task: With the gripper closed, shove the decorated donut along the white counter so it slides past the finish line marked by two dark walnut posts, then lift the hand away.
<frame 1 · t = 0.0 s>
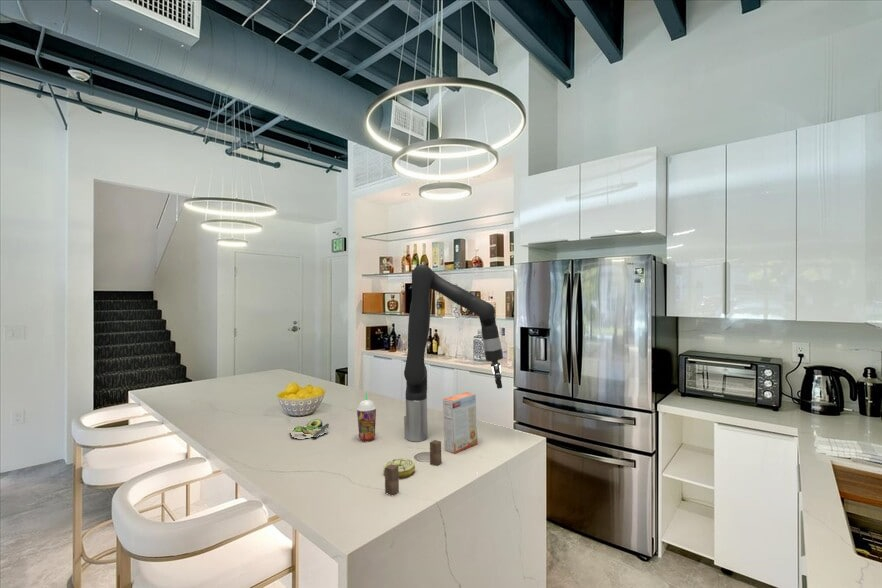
hand: (499, 385, 172), 22 cm above the kitchen island, tool pointing down, fingers open, 8 cm apart
decorated donut: (399, 473, 140), on the kitchen island
finish posts: (415, 477, 136), on the kitchen island
salad plate: (309, 433, 185), on the kitchen island
smoothie: (367, 440, 174), on the kitchen island
cracker box: (461, 447, 162), on the kitchen island
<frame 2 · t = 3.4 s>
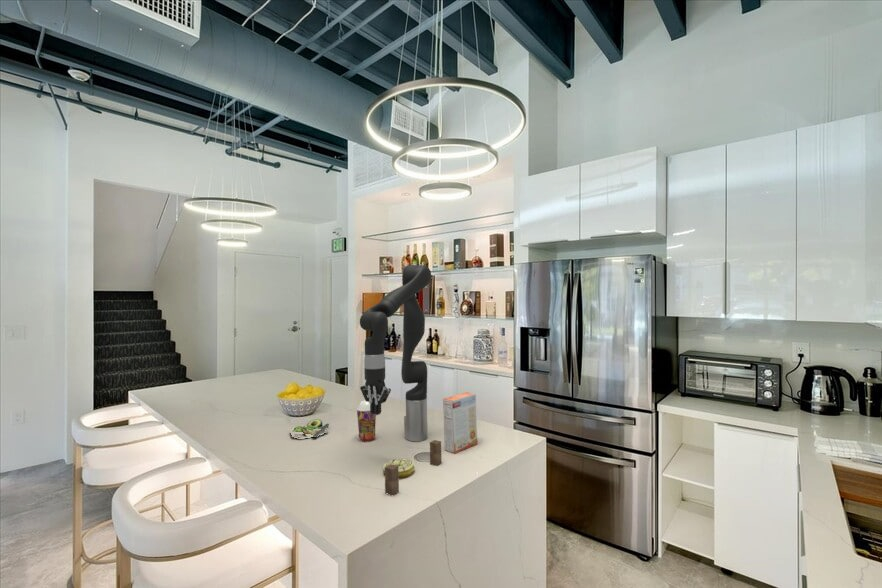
hand: (375, 413, 146), 19 cm above the kitchen island, tool pointing down, fingers closed
nothing on the kitchen island moved.
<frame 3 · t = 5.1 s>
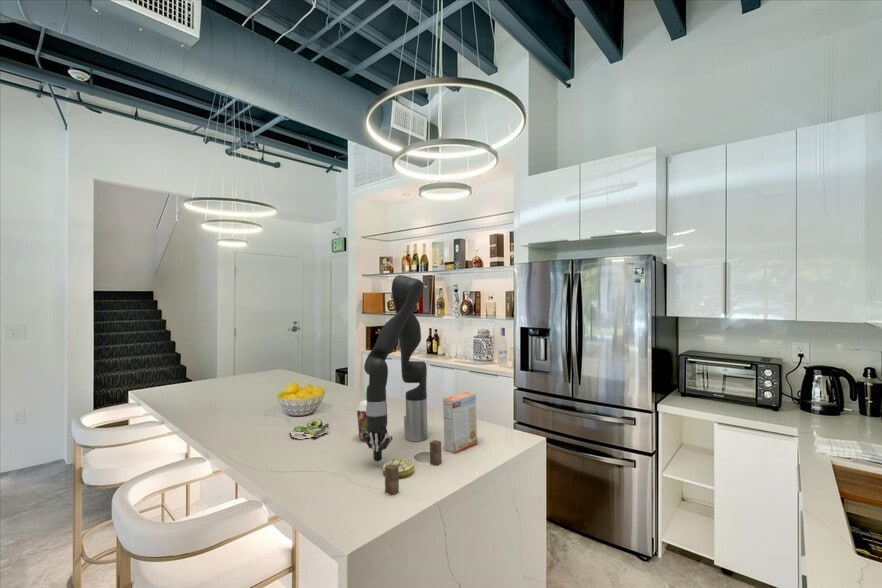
hand: (377, 460, 145), 2 cm above the kitchen island, tool pointing down, fingers closed
nothing on the kitchen island moved.
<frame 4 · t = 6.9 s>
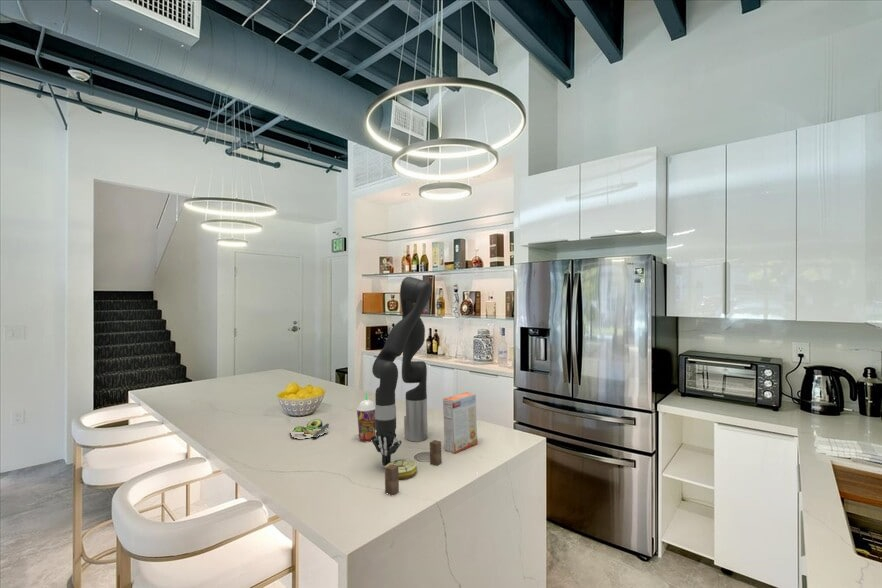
hand: (386, 464, 143), 2 cm above the kitchen island, tool pointing down, fingers closed
decorated donut: (401, 474, 139), on the kitchen island, touching gripper
everything else where it was.
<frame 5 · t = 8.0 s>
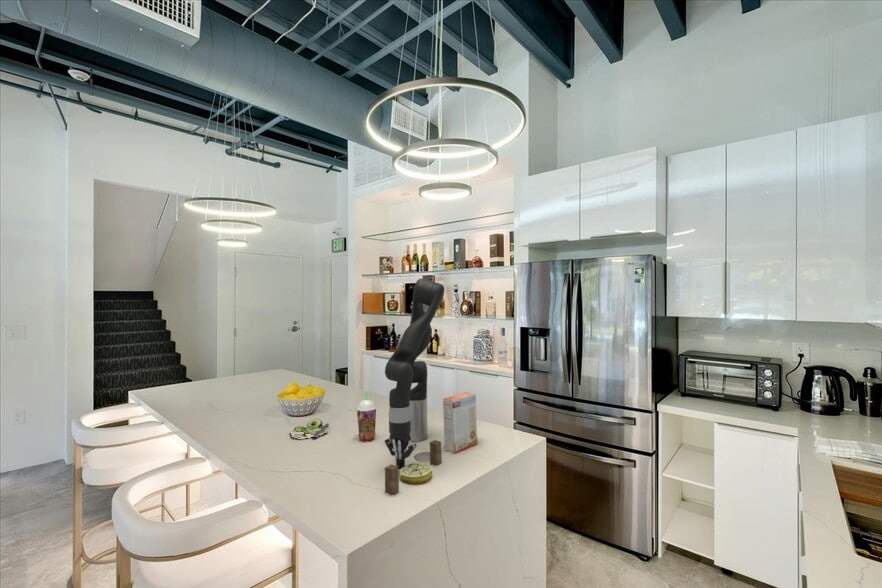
hand: (400, 468, 139), 2 cm above the kitchen island, tool pointing down, fingers closed
decorated donut: (416, 479, 135), on the kitchen island, touching gripper
everything else where it was.
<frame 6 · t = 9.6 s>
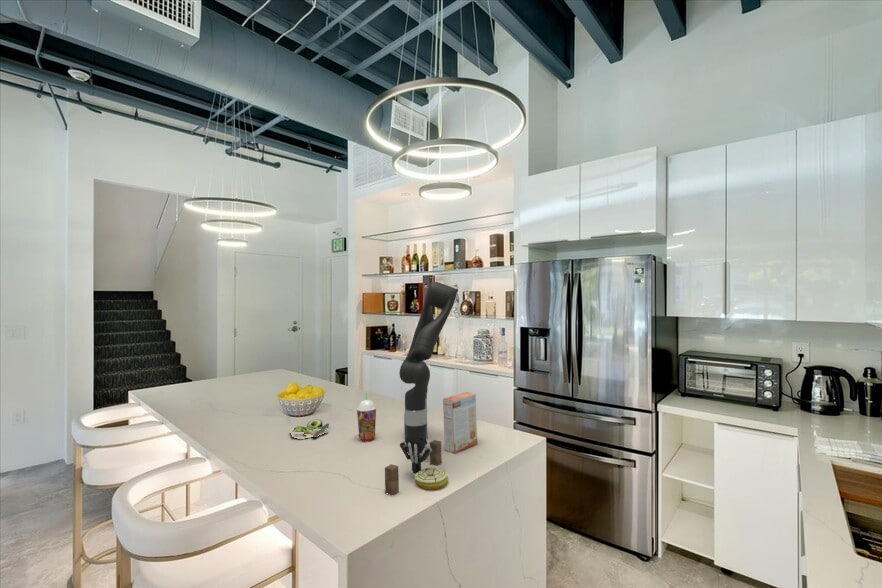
hand: (416, 472, 136), 2 cm above the kitchen island, tool pointing down, fingers closed
decorated donut: (431, 484, 131), on the kitchen island, touching gripper
everything else where it was.
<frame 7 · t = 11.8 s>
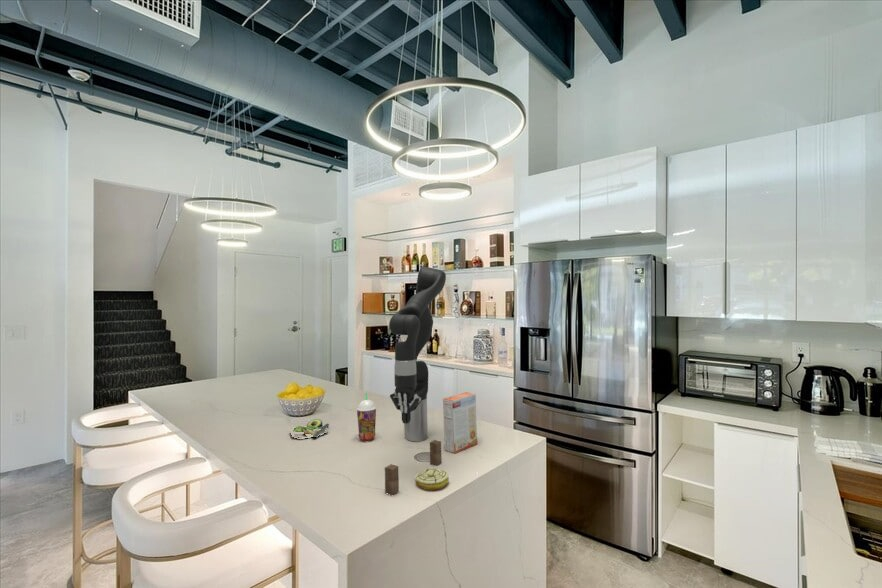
hand: (406, 422, 138), 18 cm above the kitchen island, tool pointing down, fingers closed
decorated donut: (432, 485, 131), on the kitchen island
everything else where it was.
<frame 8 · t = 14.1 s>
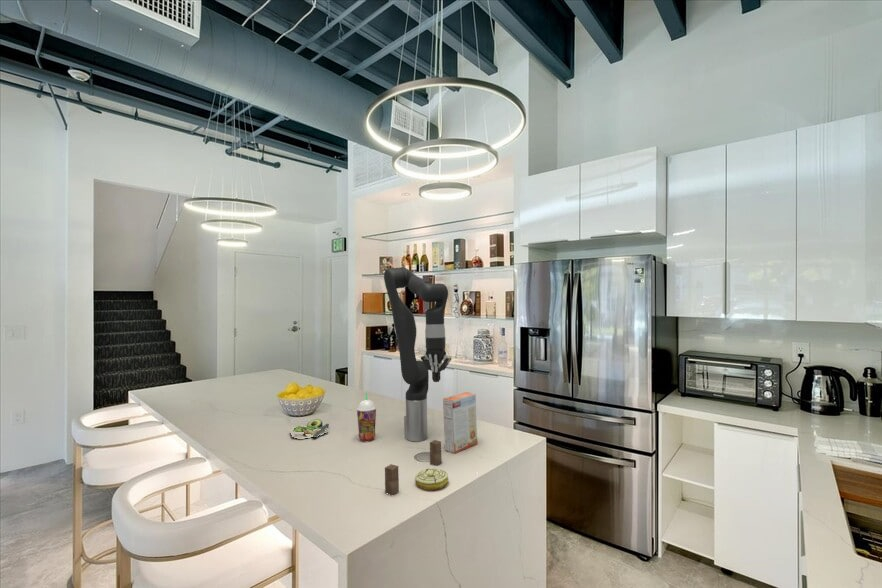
hand: (436, 381, 152), 29 cm above the kitchen island, tool pointing down, fingers closed
nothing on the kitchen island moved.
at the end: decorated donut inside the target area (2.8 cm from its centre), on the kitchen island; decorated donut tilted 0° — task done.
